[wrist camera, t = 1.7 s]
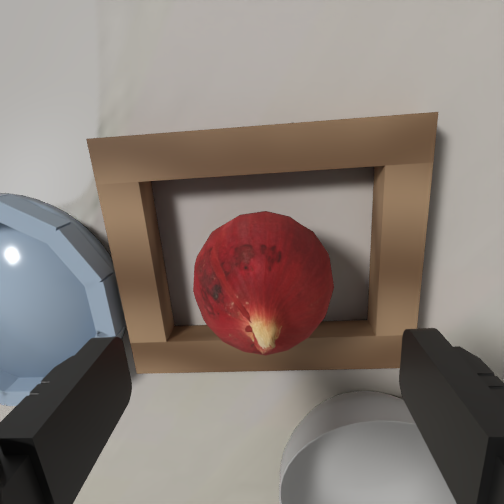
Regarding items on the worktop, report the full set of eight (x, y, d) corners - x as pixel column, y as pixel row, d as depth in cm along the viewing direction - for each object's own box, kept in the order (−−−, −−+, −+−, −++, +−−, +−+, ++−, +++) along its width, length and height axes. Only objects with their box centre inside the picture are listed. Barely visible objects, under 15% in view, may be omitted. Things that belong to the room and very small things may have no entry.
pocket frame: (103, 138, 16) (86, 139, 15) (421, 114, 15) (438, 111, 14) (146, 356, 20) (136, 373, 19) (401, 349, 19) (412, 367, 18)
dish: (-112, 200, 18) (-157, 207, 16) (103, 186, 17) (82, 192, 15) (-35, 383, 22) (-65, 406, 20) (144, 379, 21) (131, 404, 19)
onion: (191, 267, 18) (134, 359, 11) (245, 176, 16) (222, 207, 9) (281, 319, 19) (287, 439, 11) (342, 236, 17) (397, 312, 10)
